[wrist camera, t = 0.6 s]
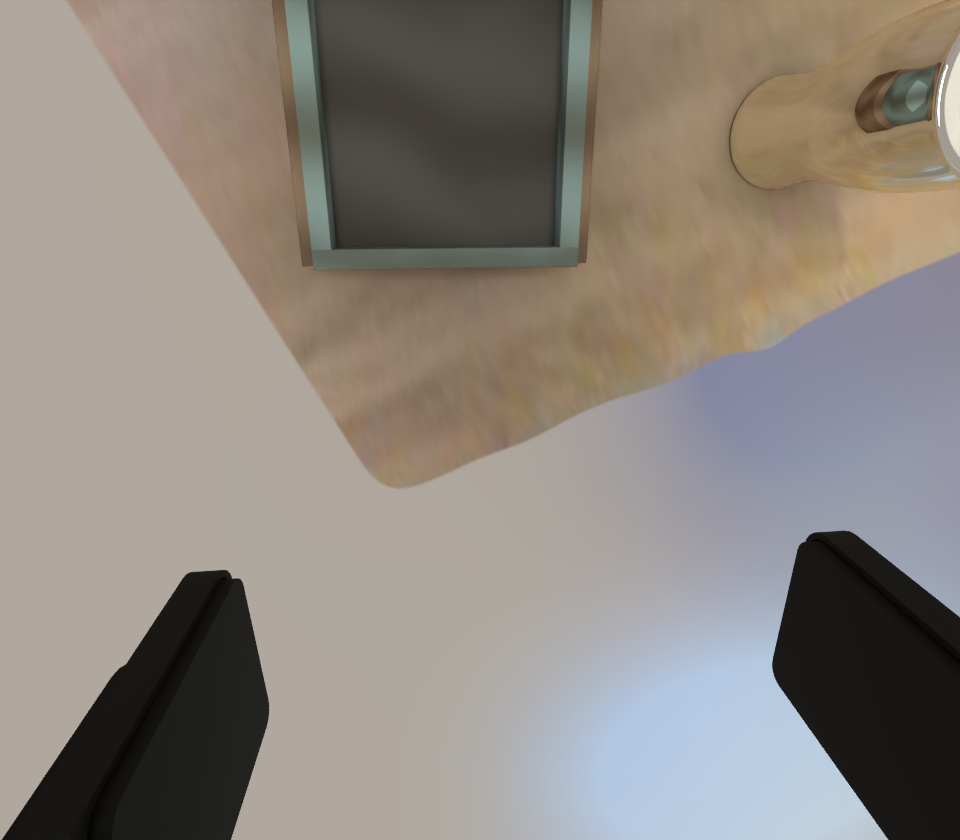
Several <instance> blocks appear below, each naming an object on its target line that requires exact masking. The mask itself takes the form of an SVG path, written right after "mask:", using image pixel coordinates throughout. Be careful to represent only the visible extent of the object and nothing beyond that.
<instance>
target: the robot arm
mask: <svg viewBox="0 0 960 840" xmlns="http://www.w3.org/2000/svg"><path fill="white" fill-rule="evenodd" d="M772 667H773V673H774V676H775V679H776V681H777V683H778V685H779V686H780V688H781V689H782V691H783V692H784V693H785V695H786V696H787V697H788V699H789V700H790V701H791V703H792V705H793V706H794V707H795V709H796V710H797V712H798V713H799V714H800V716H801V717H802V719H803V720H804V721H805V723H806V724H807V726H808V727H809V729H810V730H811V731H812V733H813V734H814V736H815V737H816V738H817V740H818V741H819V743H820V744H821V745H822V747H823V748H824V749H825V751H826V753H827V754H828V755H829V757H830V758H831V759H832V761H833V762H834V764H835V765H836V767H837V768H838V769H839V771H840V772H841V773H842V775H843V776H844V778H845V779H846V781H847V782H848V784H849V785H850V786H851V788H852V789H853V790H854V792H855V793H856V795H857V796H858V798H859V799H860V800H861V802H862V803H863V804H864V806H865V807H866V809H867V810H868V812H869V813H870V814H871V816H872V817H873V819H874V820H875V821H876V823H877V824H878V825H879V827H880V828H881V830H882V831H883V833H884V834H885V836H886V837H887V838H888V840H960V617H959V616H957V615H956V614H955V613H954V612H952V611H951V610H950V609H949V608H947V607H946V606H945V605H943V604H942V603H941V602H940V601H939V600H937V599H936V598H935V597H934V596H932V595H931V594H930V593H928V592H927V591H926V590H925V589H923V588H922V587H921V586H920V585H918V584H917V583H916V582H915V581H913V580H912V579H911V578H910V577H908V576H907V575H906V574H905V573H903V572H902V571H901V570H899V569H898V568H897V567H896V566H894V565H893V564H892V563H891V562H889V561H888V560H887V559H886V558H884V557H883V556H882V555H881V554H879V553H878V552H877V551H876V550H874V549H873V548H872V547H871V546H869V545H868V544H867V543H865V542H864V541H863V540H862V539H860V538H859V537H858V536H857V535H855V534H853V533H852V532H850V531H833V532H818V533H813V534H810V535H809V537H808V538H807V539H806V542H803V543H801V544H800V546H799V548H798V551H797V555H796V559H795V564H794V568H793V573H792V577H791V582H790V586H789V590H788V594H787V599H786V603H785V608H784V612H783V617H782V621H781V626H780V630H779V634H778V639H777V643H776V647H775V652H774V656H773V662H772ZM268 717H269V701H268V696H267V691H266V687H265V682H264V677H263V673H262V668H261V664H260V659H259V655H258V650H257V645H256V641H255V636H254V631H253V627H252V622H251V618H250V613H249V609H248V604H247V599H246V595H245V590H244V586H243V583H242V581H241V579H232V577H231V574H230V573H229V572H228V571H226V570H219V571H218V570H217V571H202V572H190V573H188V574H187V575H185V577H184V578H183V579H182V581H181V582H180V584H179V585H178V587H177V588H176V590H175V592H174V593H173V594H172V596H171V598H170V599H169V600H168V602H167V603H166V605H165V606H164V608H163V610H162V611H161V613H160V614H159V616H158V617H157V618H156V620H155V621H154V623H153V625H152V626H151V627H150V629H149V631H148V632H147V634H146V635H145V637H144V638H143V640H142V641H141V643H140V644H139V646H138V647H137V649H136V650H135V652H134V653H133V655H132V656H131V658H130V659H129V661H128V662H127V664H126V665H124V666H123V667H121V668H119V669H118V671H117V672H116V673H115V674H114V675H113V676H112V677H111V679H110V680H109V682H108V683H107V685H106V686H105V688H104V689H103V691H102V693H101V694H100V695H99V697H98V698H97V700H96V701H95V703H94V704H93V706H92V707H91V709H90V710H89V711H88V713H87V714H86V716H85V717H84V719H83V720H82V722H81V724H80V725H79V727H78V728H77V729H76V731H75V732H74V734H73V735H72V737H71V738H70V740H69V741H68V743H67V744H66V746H65V747H64V749H63V750H62V751H61V753H60V755H59V756H58V758H57V759H56V760H55V762H54V764H53V765H52V766H51V768H50V769H49V771H48V772H47V774H46V775H45V777H44V778H43V780H42V781H41V783H40V784H39V786H38V787H37V789H36V790H35V791H34V793H33V794H32V796H31V798H30V799H29V800H28V802H27V804H26V805H25V806H24V808H23V809H22V811H21V812H20V814H19V815H18V817H17V818H16V820H15V821H14V823H13V824H12V826H11V827H10V829H9V830H8V831H7V833H6V835H5V836H4V837H3V839H2V840H231V837H232V834H233V831H234V828H235V825H236V822H237V818H238V815H239V812H240V809H241V806H242V803H243V800H244V796H245V793H246V790H247V787H248V784H249V780H250V778H251V774H252V771H253V768H254V765H255V762H256V759H257V755H258V752H259V749H260V746H261V743H262V739H263V737H264V733H265V730H266V727H267V723H268Z"/></svg>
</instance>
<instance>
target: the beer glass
mask: <svg viewBox="0 0 960 840" xmlns="http://www.w3.org/2000/svg"><path fill="white" fill-rule="evenodd" d="M730 150H731V156H732V160H733V162H734V165H735V167H736V169H737V170H738V172H739V173H740V175H741V176H742V177H743V178H744V179H745V180H746V181H748V182H749V183H751V184H752V185H754V186H757V187H760V188H764V189H779V188H785V187H788V186H791V185H794V184H797V183H799V182H802V181H805V180H818V181H822V182H826V183H830V184H834V185H839V186H843V187H847V188H852V189H857V190H864V191H870V192H877V193H923V192H937V191H946V190H954V189H960V0H944V1H941V2H938V3H936V4H933V5H930V6H927V7H925V8H923V9H920V10H918V11H916V12H914V13H911V14H909V15H907V16H905V17H903V18H900V19H898V20H896V21H894V22H892V23H890V24H888V25H886V26H885V27H883V28H881V29H879V30H878V31H876V32H874V33H873V34H871V35H869V36H867V37H866V38H864V39H862V40H861V41H859V42H858V43H856V44H855V45H853V46H852V47H850V48H849V49H847V50H846V51H844V52H843V53H841V54H840V55H838V56H837V57H835V58H834V59H832V60H831V61H830V62H828V63H827V64H825V65H824V66H822V67H820V68H819V69H817V70H815V71H813V72H811V73H807V74H786V75H780V76H777V77H774V78H771V79H769V80H767V81H765V82H764V83H762V84H761V85H759V86H758V87H757V88H756V89H755V90H753V91H752V92H751V93H750V94H749V95H748V97H747V98H746V99H745V100H744V102H743V103H742V105H741V106H740V108H739V110H738V112H737V114H736V116H735V119H734V122H733V125H732V129H731V135H730Z"/></svg>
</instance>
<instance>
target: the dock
mask: <svg viewBox="0 0 960 840" xmlns="http://www.w3.org/2000/svg"><path fill="white" fill-rule="evenodd" d="M272 6H273V15H274V23H275V32H276V41H277V49H278V58H279V67H280V75H281V84H282V93H283V101H284V110H285V119H286V127H287V136H288V145H289V154H290V162H291V171H292V180H293V188H294V197H295V206H296V214H297V223H298V232H299V240H300V249H301V258H302V266H313V269H314V270H340V269H421V268H502V267H577V263H586V256H587V240H588V224H589V208H590V192H591V176H592V160H593V144H594V128H595V112H596V95H597V79H598V63H599V47H600V31H601V15H602V0H272Z"/></svg>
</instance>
